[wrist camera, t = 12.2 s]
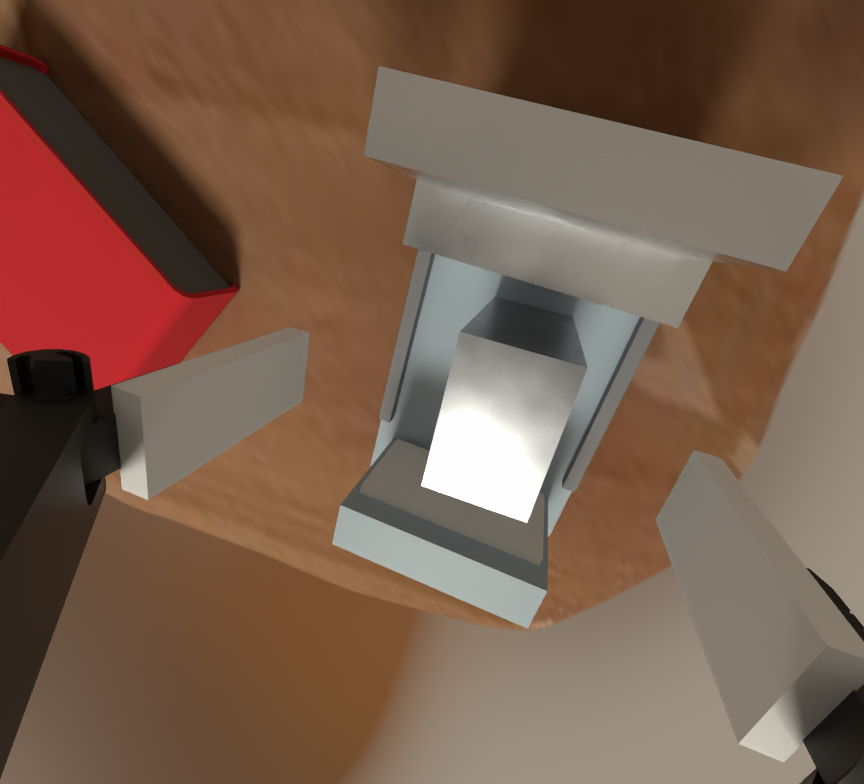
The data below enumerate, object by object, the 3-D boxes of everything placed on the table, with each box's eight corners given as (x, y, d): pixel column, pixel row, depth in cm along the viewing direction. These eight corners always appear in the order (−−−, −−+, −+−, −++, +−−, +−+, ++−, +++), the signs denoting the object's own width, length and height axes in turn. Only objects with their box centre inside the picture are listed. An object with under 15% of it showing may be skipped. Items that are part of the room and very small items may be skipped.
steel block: (466, 399, 23) (421, 485, 15) (494, 296, 21) (459, 331, 13) (535, 421, 23) (527, 522, 14) (572, 316, 20) (587, 367, 12)
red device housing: (-16, 226, 31) (-112, 224, 26) (47, 61, 25) (-63, 22, 21) (149, 405, 33) (86, 431, 28) (244, 290, 27) (183, 300, 22)
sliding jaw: (445, 243, 20) (314, 246, 9) (465, 165, 19) (340, 56, 8) (638, 300, 19) (767, 389, 8) (675, 222, 18) (898, 189, 6)
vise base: (379, 455, 28) (314, 536, 20) (460, 121, 20) (404, 46, 12) (549, 521, 26) (548, 637, 19) (713, 184, 18) (831, 143, 11)
